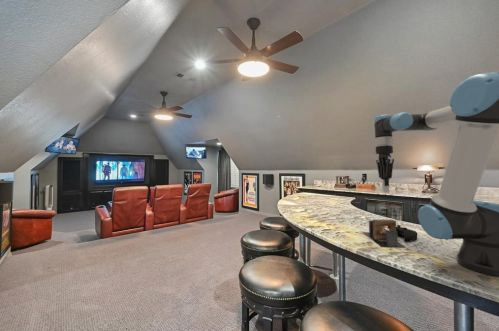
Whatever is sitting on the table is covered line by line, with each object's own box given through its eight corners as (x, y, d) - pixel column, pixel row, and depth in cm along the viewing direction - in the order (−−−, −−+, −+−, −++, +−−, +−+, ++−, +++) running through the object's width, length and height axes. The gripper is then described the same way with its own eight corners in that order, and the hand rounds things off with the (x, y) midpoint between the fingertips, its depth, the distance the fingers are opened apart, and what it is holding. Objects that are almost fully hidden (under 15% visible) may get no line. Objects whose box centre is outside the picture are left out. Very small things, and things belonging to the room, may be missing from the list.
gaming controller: (381, 225, 116) (396, 220, 119) (383, 236, 117) (398, 231, 119) (406, 233, 103) (422, 227, 105) (408, 246, 103) (424, 239, 105)
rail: (405, 247, 96) (405, 231, 97) (381, 247, 98) (380, 230, 98) (382, 233, 117) (382, 219, 117) (362, 232, 119) (362, 219, 119)
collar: (396, 240, 103) (395, 221, 103) (376, 240, 104) (375, 221, 104) (393, 238, 106) (392, 219, 106) (373, 237, 107) (372, 219, 107)
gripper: (399, 144, 105) (401, 193, 104) (384, 147, 118) (386, 191, 117) (382, 144, 105) (384, 193, 105) (370, 147, 118) (372, 191, 118)
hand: (385, 192), depth 111 cm, fingers closed
